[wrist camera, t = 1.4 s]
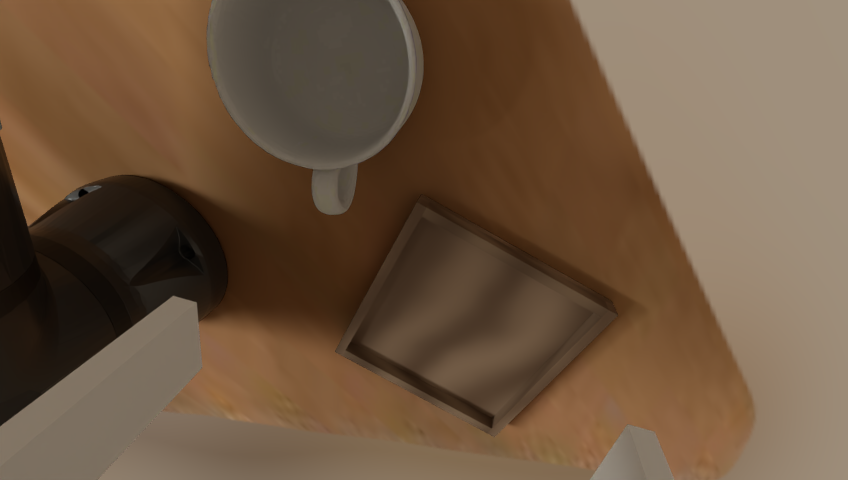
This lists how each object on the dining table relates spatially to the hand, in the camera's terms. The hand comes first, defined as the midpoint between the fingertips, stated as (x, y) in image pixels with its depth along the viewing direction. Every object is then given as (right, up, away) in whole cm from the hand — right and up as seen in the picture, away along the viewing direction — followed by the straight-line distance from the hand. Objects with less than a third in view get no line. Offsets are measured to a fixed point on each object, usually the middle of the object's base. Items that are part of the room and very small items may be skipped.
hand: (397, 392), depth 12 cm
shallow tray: (+4, -3, +22) cm, 23 cm away
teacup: (-4, +15, +15) cm, 22 cm away
